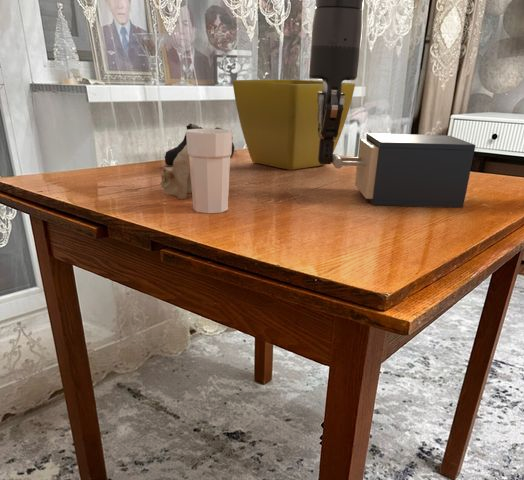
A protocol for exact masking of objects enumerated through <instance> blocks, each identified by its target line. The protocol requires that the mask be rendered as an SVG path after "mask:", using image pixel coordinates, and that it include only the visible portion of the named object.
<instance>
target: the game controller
mask: <svg viewBox="0 0 524 480" xmlns="http://www.w3.org/2000/svg"><path fill="white" fill-rule="evenodd" d="M188 129H204V127H202V126H199V125H197V124H195V123H189V124H188V125H186V130H188ZM214 129H222V128H221V127H218V126H217V127H215V128H214ZM233 140H234V138H233V136H232V153H231V156H230V160H232V158H233V156H234V154H235V150H236V149H235V144H234V142H233ZM186 144H187V139H186V133H185V134H184V137H183V140H182V141H181V142H180V143H179V144H178V145H177V146H176V147H173V148H171V149H169V150H167V151H166V152H165V155H164V162H165V164H166V165H167V166H168V167H173V161H174V159H175V158H176V157H177V155H178V153H179V152H181V151H182V150H183V148H184V147H185V145H186Z"/></svg>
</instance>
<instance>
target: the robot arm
mask: <svg viewBox="0 0 524 480" xmlns="http://www.w3.org/2000/svg"><path fill="white" fill-rule="evenodd" d="M364 1H365V0H315V8H314V15H313V19H312V26H311V37H310V50H309V51H310V52H309V53H310V54H309V64H308V65H309V66H308V76H309V78H310V79H316V80H321V81H323V87H322V92H318V95H317V103H318V115H317V121H318V133H319V134H318V136H319V138H320V143H319V154H318V161H319V163H320V164H327V165H331V164H332V158H333V154H334V152H333V147H334V140H335V138H336V137H337V135H338V130H339V125H340V122H341V116H342V111H343V105H344V100H345V94H343V93H341V88H342V84H341V83H343V81H355V80H356V79H358V72H359V71H358V70H359V63H360V52H361V45H362V44H361V43H362V35H363V9H364Z"/></svg>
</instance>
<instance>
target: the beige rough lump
mask: <svg viewBox="0 0 524 480" xmlns="http://www.w3.org/2000/svg"><path fill="white" fill-rule="evenodd" d="M160 179H161V181H160V186H161V188H162V189H163V191H164V192H165V195H173V196H174V197H177V198H178V199H179V200H186V199H187V195H188V194H192V186H191V174H190V163H189V154H188V152H187V144H186V145H185V147H184V148H183V150H182V151H181V152H179V153H178V155H177V157H176V158H175V159H174V161H173V165H172V166H164V167H163V171H161V172H160Z"/></svg>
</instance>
